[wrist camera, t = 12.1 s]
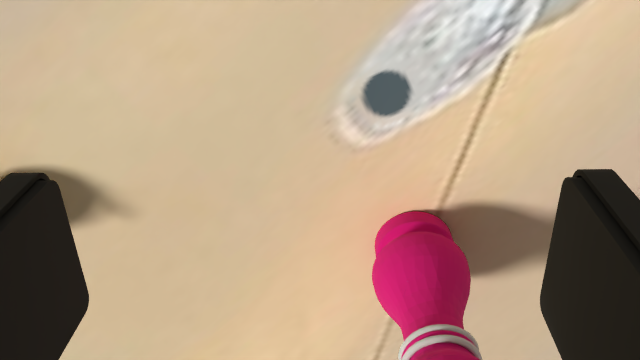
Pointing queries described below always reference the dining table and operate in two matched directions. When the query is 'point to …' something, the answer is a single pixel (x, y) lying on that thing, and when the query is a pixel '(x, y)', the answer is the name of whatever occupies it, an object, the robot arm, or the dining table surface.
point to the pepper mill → (424, 287)
